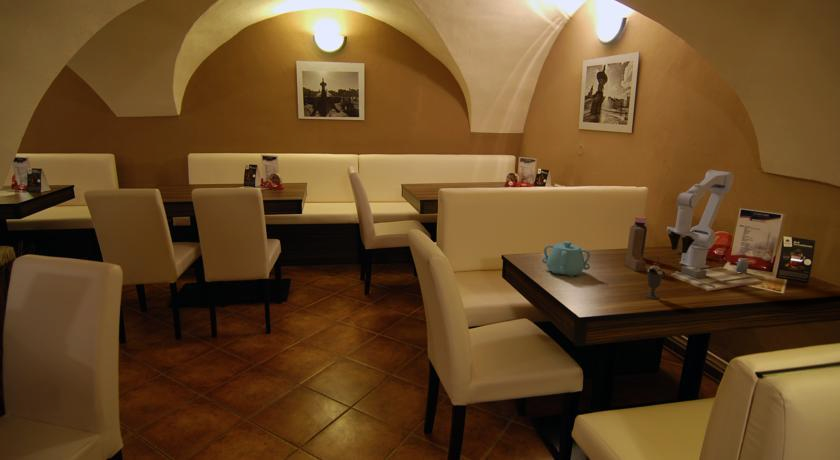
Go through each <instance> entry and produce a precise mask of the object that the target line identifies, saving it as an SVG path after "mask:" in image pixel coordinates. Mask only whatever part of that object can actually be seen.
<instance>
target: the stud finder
mask: <svg viewBox="0 0 840 460" xmlns="http://www.w3.org/2000/svg"><path fill="white" fill-rule="evenodd" d="M704 269H705V268H698V267H695V266H687V265H684V266H681V270H680V272H681V273H683V274H685V275H688V276H690V277H693V278H696V279H698V278H705V277H706V273H707V271H706V270H704Z"/></svg>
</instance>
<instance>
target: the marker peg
mask: <svg viewBox="0 0 840 460" xmlns="http://www.w3.org/2000/svg"><path fill="white" fill-rule="evenodd" d="M749 263H750V259H747V258H743V257H738V259H737V263H736V269H735V272H736V271H737V272H741V273H746V274H747V273H748V268H749ZM741 273H740V274H741Z"/></svg>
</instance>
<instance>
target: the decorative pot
mask: <svg viewBox="0 0 840 460" xmlns="http://www.w3.org/2000/svg"><path fill="white" fill-rule="evenodd" d="M548 248H552V249H551V250H550V252H549V253H548V252H547V249H548ZM584 253H585V254H586V255H587V256H586V258H585V257H584ZM543 255H544V256H545V257H542V259H541V262H542V263H543V264H544V265H545V264H546V267H547V269H548V271H550V272H552V274H553V273H555V274H554V275H567V276H568V277H571V278H572V277H575V276H578V275H580V274H581V273H582V272H583V270H585V271H588V270H589V269H591V265H590V264H589V263H588V262H589V260H590V257H591V252H589V251H588V250H587V249H585V248H581V247H580V246H579V245H577V244H572V242H571V241H569V240H568V241H567V240H566V241H563V243H561V242H558V243H556V244H554V245H553V244H548V245H546V246H544V249H543Z"/></svg>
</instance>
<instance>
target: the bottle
mask: <svg viewBox="0 0 840 460" xmlns="http://www.w3.org/2000/svg"><path fill="white" fill-rule="evenodd" d="M646 222H647V216H643V215H642V216H641V215H635V216H634V224H633V225H631V227H641V228H643V229H644V237H643V244H642V258H643V259H644V252H645V246H646V239H647V231H648V228H647V226H646Z"/></svg>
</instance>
